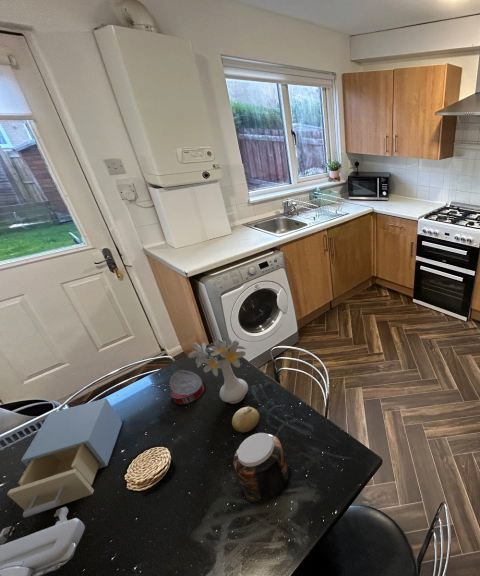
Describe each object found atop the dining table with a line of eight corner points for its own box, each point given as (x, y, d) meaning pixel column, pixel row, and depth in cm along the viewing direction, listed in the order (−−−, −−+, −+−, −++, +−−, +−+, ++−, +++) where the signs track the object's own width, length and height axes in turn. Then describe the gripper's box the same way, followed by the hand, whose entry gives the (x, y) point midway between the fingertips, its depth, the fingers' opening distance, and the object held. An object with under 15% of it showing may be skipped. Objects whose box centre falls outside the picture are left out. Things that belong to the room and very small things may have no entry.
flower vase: (218, 383, 117) (198, 330, 105) (266, 384, 116) (251, 331, 104) (198, 412, 106) (173, 356, 94) (251, 414, 105) (233, 358, 93)
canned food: (197, 391, 120) (203, 367, 119) (204, 404, 113) (210, 379, 112) (162, 394, 112) (168, 369, 111) (167, 409, 105) (173, 382, 104)
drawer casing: (107, 466, 90) (87, 440, 84) (45, 486, 85) (20, 460, 79) (122, 422, 102) (106, 397, 97) (69, 438, 98) (49, 413, 92)
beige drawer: (85, 512, 78) (65, 491, 73) (20, 536, 74) (-6, 515, 69) (109, 447, 94) (94, 425, 89) (56, 463, 89) (37, 442, 85)
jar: (270, 511, 79) (258, 477, 72) (234, 494, 83) (219, 460, 75) (296, 467, 89) (288, 434, 81) (263, 454, 92) (252, 421, 85)
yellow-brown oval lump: (249, 439, 97) (244, 424, 93) (229, 432, 99) (223, 417, 96) (265, 418, 103) (261, 403, 100) (246, 412, 106) (241, 397, 102)
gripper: (61, 557, 63) (86, 491, 74) (-84, 615, 56) (-32, 532, 67) (76, 571, 66) (98, 505, 77) (-59, 627, 59) (-13, 546, 70)
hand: (37, 518), depth 72 cm, fingers open, 8 cm apart
